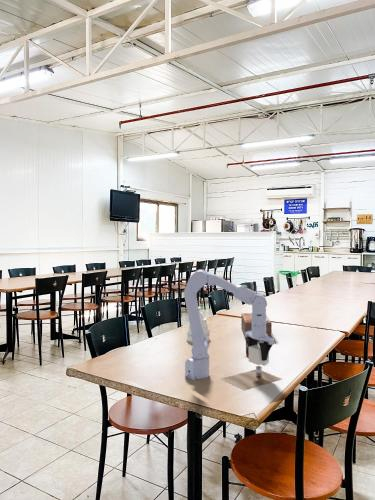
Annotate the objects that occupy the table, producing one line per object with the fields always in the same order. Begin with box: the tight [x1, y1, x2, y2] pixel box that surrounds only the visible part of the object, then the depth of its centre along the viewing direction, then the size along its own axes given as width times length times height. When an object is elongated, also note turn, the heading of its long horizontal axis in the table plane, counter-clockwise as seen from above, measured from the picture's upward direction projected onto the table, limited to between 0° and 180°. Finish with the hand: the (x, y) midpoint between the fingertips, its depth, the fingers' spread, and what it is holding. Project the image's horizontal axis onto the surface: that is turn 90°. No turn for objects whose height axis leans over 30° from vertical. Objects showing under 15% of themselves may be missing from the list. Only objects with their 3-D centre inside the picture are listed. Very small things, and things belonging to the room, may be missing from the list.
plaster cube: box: [248, 344, 270, 366], centre depth 155 cm, size 6×6×6 cm
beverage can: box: [245, 330, 261, 357], centre depth 187 cm, size 7×7×12 cm
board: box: [220, 369, 282, 391], centre depth 154 cm, size 20×14×2 cm
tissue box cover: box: [240, 312, 273, 341], centre depth 229 cm, size 26×14×10 cm, turn 177°
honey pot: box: [186, 306, 211, 343], centre depth 217 cm, size 13×13×18 cm
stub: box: [255, 365, 263, 378], centre depth 156 cm, size 2×2×4 cm
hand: (258, 358), depth 155 cm, fingers closed on plaster cube, 6 cm apart
